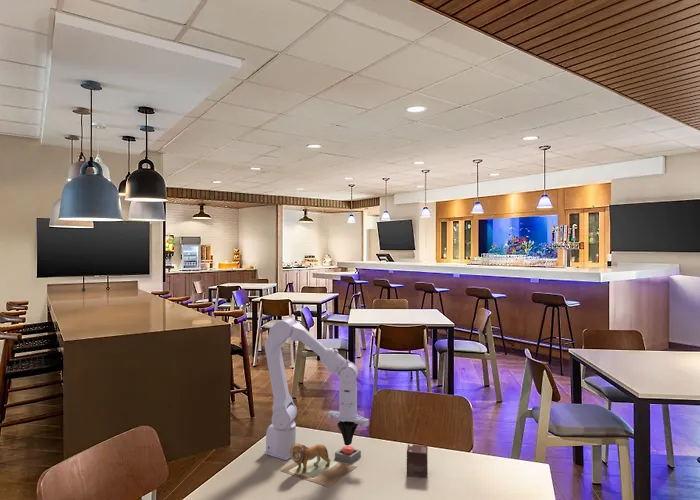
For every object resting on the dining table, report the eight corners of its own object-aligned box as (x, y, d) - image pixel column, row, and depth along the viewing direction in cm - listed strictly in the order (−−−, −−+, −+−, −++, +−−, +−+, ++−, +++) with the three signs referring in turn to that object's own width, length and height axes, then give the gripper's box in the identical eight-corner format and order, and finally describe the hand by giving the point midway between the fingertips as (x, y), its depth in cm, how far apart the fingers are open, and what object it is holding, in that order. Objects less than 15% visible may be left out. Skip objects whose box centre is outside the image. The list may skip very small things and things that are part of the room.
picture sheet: (280, 470, 145) (280, 470, 145) (310, 453, 157) (310, 453, 157) (328, 487, 135) (328, 486, 135) (356, 467, 147) (356, 466, 147)
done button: (340, 453, 153) (340, 449, 153) (346, 449, 156) (346, 445, 156) (349, 456, 151) (349, 451, 151) (355, 452, 154) (355, 447, 154)
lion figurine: (295, 479, 139) (295, 448, 139) (285, 472, 143) (285, 442, 143) (335, 464, 149) (335, 435, 149) (324, 459, 153) (324, 430, 153)
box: (426, 478, 140) (427, 453, 140) (406, 476, 141) (406, 451, 141) (427, 469, 146) (427, 445, 146) (407, 467, 147) (408, 443, 147)
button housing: (334, 458, 153) (334, 452, 153) (345, 452, 158) (345, 446, 158) (350, 463, 150) (350, 457, 150) (360, 456, 155) (360, 450, 155)
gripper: (322, 401, 155) (322, 443, 155) (360, 409, 147) (360, 453, 147) (335, 395, 160) (335, 436, 160) (372, 403, 152) (372, 446, 152)
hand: (348, 444), depth 154 cm, fingers closed
